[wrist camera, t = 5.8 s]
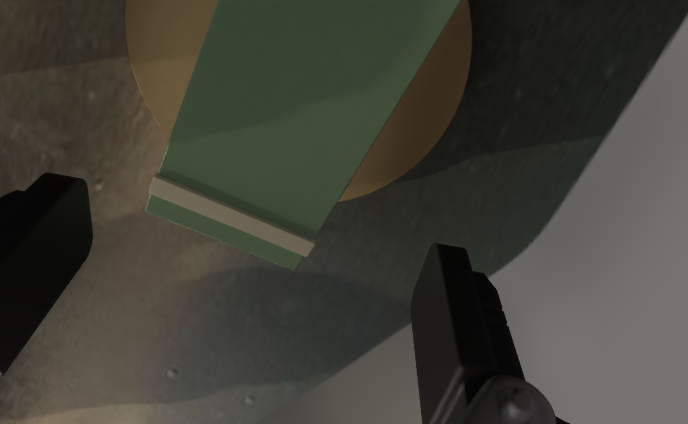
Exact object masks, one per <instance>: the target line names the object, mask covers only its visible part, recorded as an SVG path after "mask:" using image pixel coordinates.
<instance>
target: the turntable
mask: <svg viewBox="0 0 688 424" xmlns="http://www.w3.org/2000/svg"><path fill="white" fill-rule="evenodd" d="M217 2H218V0H126V6H125V30H126V39H127V48H128V53H129V57H130V62H131V66H132V70H133V73H134V76H135V79H136V81H137V84H138V87H139V89H140V92H141V94H142V96H143V98H144V100H145V102H146V104H147V106H148V108H149V110H150V112H151V113H152V115H153V116H154V118H155V119H156V121H157V122H158V124H159V125H160V127H161V128H162V130H163V131H164V132H165V133H166V135H167V136H168V137H169V138H170V136H171V133H172V130H173V127H174V124H175V121H176V119H177V116H178V113H179V110H180V107H181V104H182V101H183V99H184V96H185V93H186V90H187V87H188V84H189V82H190V79H191V76H192V73H193V70H194V67H195V64H196V62H197V59H198V56H199V53H200V50H201V47H202V44H203V42H204V39H205V36H206V33H207V30H208V27H209V24H210V22H211V19H212V16H213V13H214V10H215V7H216V5H217ZM471 55H472V23H471V15H470V6H469V2H468V0H461V3H460V4H459V6H458V8H457V9H456V11H455V13H454V14H453V16H452V17H451V19H450V21H449V22H448V24H447V26H446V27H445V29H444V30H443V32H442V34H441V35H440V37H439V39H438V40H437V42H436V43H435V45H434V47H433V48H432V50H431V52H430V53H429V55H428V56H427V58H426V60H425V61H424V63H423V65H422V66H421V68H420V69H419V71H418V73H417V74H416V76H415V78H414V79H413V81H412V82H411V84H410V86H409V87H408V89H407V91H406V92H405V94H404V95H403V97H402V99H401V100H400V102H399V104H398V105H397V107H396V108H395V110H394V112H393V113H392V115H391V116H390V118H389V120H388V121H387V123H386V125H385V126H384V128H383V129H382V131H381V133H380V134H379V136H378V138H377V139H376V141H375V142H374V144H373V146H372V147H371V149H370V151H369V152H368V154H367V155H366V157H365V159H364V160H363V162H362V164H361V165H360V167H359V168H358V170H357V172H356V173H355V175H354V177H353V178H352V180H351V181H350V183H349V185H348V186H347V188H346V190H345V191H344V193H343V194H342V196H341V198H340V199H339V201H338V202H340V201H345V200H350V199H354V198H357V197H360V196H363V195H366V194H369V193H371V192H373V191H375V190H378V189H380V188H382V187H384V186H386V185H388V184H390V183H391V182H393V181H394V180H396V179H398V178H399V177H401V176H403V175H404V174H405V173H406V172H408V171H409V170H410V169H411V168H413V167H414V166H415V165H416V164H418V163H419V162H420V161H421V160H422V159H423V158H424V157H425V156H426V155H427V154H428V153H429V152H430V151H431V149H432V148H433V147H434V146H435V144H436V143H437V142H438V140H439V139H440V138H441V137H442V135H443V134H444V132H445V131H446V129H447V127H448V126H449V124H450V122H451V120H452V119H453V117H454V115H455V113H456V110H457V108H458V106H459V103H460V101H461V99H462V97H463V93H464V90H465V86H466V82H467V79H468V75H469V69H470V62H471Z"/></svg>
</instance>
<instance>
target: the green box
mask: <svg viewBox="0 0 688 424" xmlns="http://www.w3.org/2000/svg"><path fill="white" fill-rule="evenodd" d="M460 3H461V0H218V2H217V5H216V7H215V10H214V13H213V16H212V19H211V22H210V24H209V27H208V30H207V33H206V36H205V39H204V42H203V44H202V47H201V50H200V53H199V56H198V59H197V62H196V64H195V67H194V70H193V73H192V76H191V79H190V82H189V84H188V87H187V90H186V93H185V96H184V99H183V101H182V104H181V107H180V110H179V113H178V116H177V119H176V121H175V124H174V127H173V130H172V133H171V136H170V139H169V141H168V144H167V147H166V150H165V153H164V156H163V159H162V161H161V164H160V167H159V170H158V173H156V174H155V175H154V177H153V180H152V182H151V185H150V188H149V191H148V193H150V196H149V198H148V201H147V204H146V207H145V211H146V212H147V213H150V214H152V215H155V216H157V217H160V218H162V219H165V220H168V221H170V222H173V223H175V224H178V225H180V226H183V227H185V228H188V229H190V230H193V231H195V232H198V233H200V234H203V235H205V236H208V237H210V238H213V239H215V240H218V241H220V242H223V243H225V244H228V245H231V246H233V247H236V248H238V249H241V250H243V251H246V252H248V253H251V254H253V255H256V256H258V257H261V258H263V259H266V260H268V261H271V262H273V263H276V264H278V265H281V266H283V267H286V268H288V269H291V270H294V271H295V270H296V269H297V267H298V266H299V264H300V263H301V261H302V259H303V258H304V256H305V257H308V255H309V253H310V252H311V250H312V249H313V247H314V245H315V243H316V239H315V238H316V237H317V235H318V233H319V232H320V230H321V229H322V227H323V225H324V224H325V222H326V220H327V219H328V217H329V216H330V214H331V212H332V211H333V209H334V207H335V206H336V204H337V203H338V201H339V199H340V198H341V196H342V194H343V193H344V191H345V190H346V188H347V186H348V185H349V183H350V181H351V180H352V178H353V177H354V175H355V173H356V172H357V170H358V168H359V167H360V165H361V164H362V162H363V160H364V159H365V157H366V155H367V154H368V152H369V151H370V149H371V147H372V146H373V144H374V142H375V141H376V139H377V138H378V136H379V134H380V133H381V131H382V129H383V128H384V126H385V125H386V123H387V121H388V120H389V118H390V116H391V115H392V113H393V112H394V110H395V108H396V107H397V105H398V104H399V102H400V100H401V99H402V97H403V95H404V94H405V92H406V91H407V89H408V87H409V86H410V84H411V82H412V81H413V79H414V78H415V76H416V74H417V73H418V71H419V69H420V68H421V66H422V65H423V63H424V61H425V60H426V58H427V56H428V55H429V53H430V52H431V50H432V48H433V47H434V45H435V43H436V42H437V40H438V39H439V37H440V35H441V34H442V32H443V30H444V29H445V27H446V26H447V24H448V22H449V21H450V19H451V17H452V16H453V14H454V13H455V11H456V9H457V8H458V6H459V4H460Z"/></svg>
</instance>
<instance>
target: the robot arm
mask: <svg viewBox="0 0 688 424" xmlns="http://www.w3.org/2000/svg"><path fill="white" fill-rule="evenodd" d="M92 239H93V231H92V222H91V213H90V204H89V195H88V187H87V184H86V182H85V180H84V179H81V178H75V177H70V176H64V175H59V174H53V173H44V174H43V175H41V176H40V177H39V178H38V179H37V180H36V181H35V182H34V183H33V184H32V185H31V186H30V187H29V188H28V189H27V190H26V191H19V190H16V191H13V192H11V193H9V194H7V195H5V196H3V197H0V375H1V376H3V375H4V374H5V372H6V371H7V370H8V368H9V367H10V365H11V364H12V363H13V361H14V360H15V358H16V357H17V356H18V354H19V353H20V351H21V350H22V349H23V347H24V346H25V344H26V343H27V342H28V340H29V339H30V337H31V336H32V335H33V333H34V332H35V330H36V329H37V328H38V326H39V325H40V323H41V322H42V320H43V319H44V318H45V316H46V315H47V313H48V312H49V311H50V309H51V308H52V306H53V305H54V304H55V302H56V301H57V299H58V298H59V297H60V295H61V294H62V292H63V291H64V290H65V288H66V287H67V285H68V284H69V283H70V281H71V280H72V278H73V277H74V276H75V274H76V273H77V271H78V270H79V269H80V267H81V266H82V264H83V263H84V262H85V260H86V258H87V256H88V254H89V252H90V249H91V245H92ZM411 320H412V330H413V339H414V349H415V358H416V368H417V376H418V386H419V396H420V405H421V415H422V424H570V423H567V422H565V421H563V420H561V419H559V418H558V417H556V416H555V414H554V411H553V409H552V407H551V405H550V403H549V402H548V400H547V399H546V398H545V396H544V395H543V394H542V393H541V392H540V391H539V390H538V389H537V388H535V387H534V386H533V385H531V384H530V383H528V382H526V381H525V378H524V375H523V371H522V368H521V365H520V362H519V359H518V356H517V353H516V350H515V346H514V343H513V340H512V337H511V333H510V330H509V327H508V326H507V321H506V317H505V314H504V312H503V311H502V305H501V302H500V298H499V295H498V292H497V290H496V288H495V287H494V286H493V285H492V283H491V282H490V281H489V280H488V278H487V277H486V276H485V274H484V273H479V272H474V271H472V268H471V265H470V261H469V257H468V253H467V251H466V249H465V248H460V247H454V246H449V245H443V244H437V243H433V244H432V246H431V247H430V249H429V252H428V255H427V257H426V260H425V262H424V265H423V268H422V270H421V273H420V276H419V278H418V281H417V283H416V286H415V289H414V292H413V296H412V302H411Z"/></svg>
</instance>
